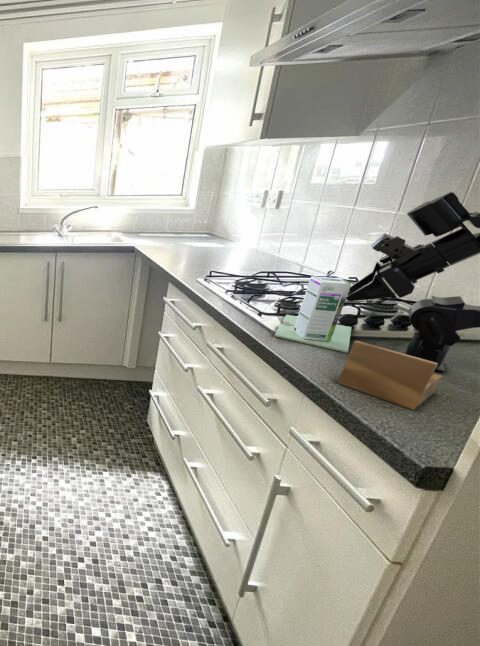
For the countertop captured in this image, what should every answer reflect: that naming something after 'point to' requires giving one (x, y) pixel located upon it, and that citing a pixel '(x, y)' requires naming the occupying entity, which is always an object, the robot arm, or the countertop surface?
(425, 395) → the stand
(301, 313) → the syrup box
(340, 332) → the mat
